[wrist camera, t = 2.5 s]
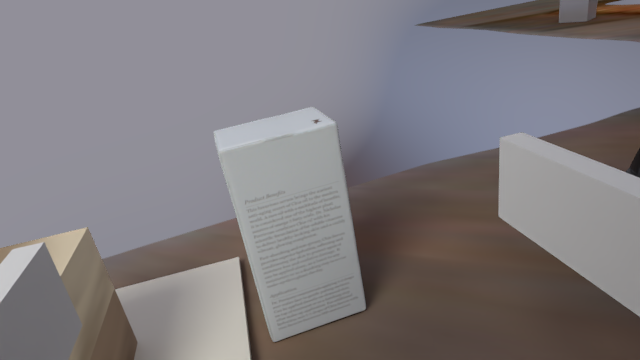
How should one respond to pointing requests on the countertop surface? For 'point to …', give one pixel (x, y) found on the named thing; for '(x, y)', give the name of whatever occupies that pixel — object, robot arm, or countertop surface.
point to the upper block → (79, 282)
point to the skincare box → (294, 218)
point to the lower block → (115, 335)
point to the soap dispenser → (577, 10)
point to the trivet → (190, 314)
